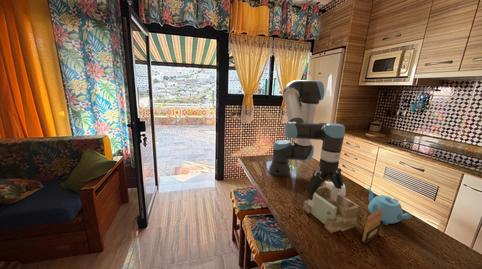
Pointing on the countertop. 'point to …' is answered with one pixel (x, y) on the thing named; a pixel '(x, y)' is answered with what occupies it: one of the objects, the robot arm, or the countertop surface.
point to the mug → (341, 191)
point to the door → (323, 209)
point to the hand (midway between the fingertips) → (322, 202)
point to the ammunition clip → (372, 226)
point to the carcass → (337, 211)
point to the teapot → (387, 208)
